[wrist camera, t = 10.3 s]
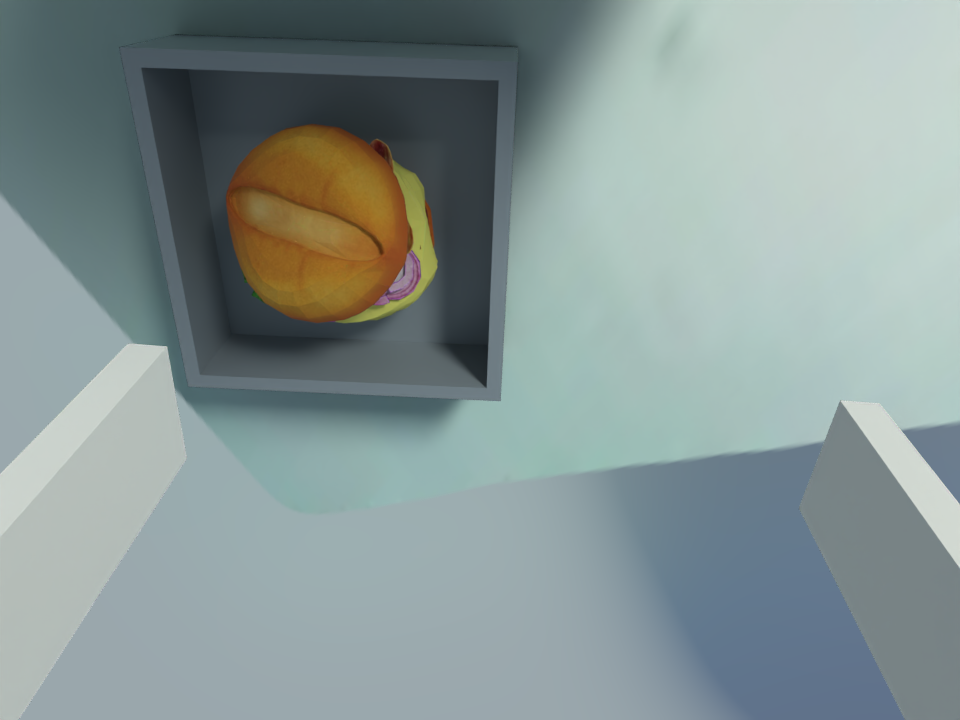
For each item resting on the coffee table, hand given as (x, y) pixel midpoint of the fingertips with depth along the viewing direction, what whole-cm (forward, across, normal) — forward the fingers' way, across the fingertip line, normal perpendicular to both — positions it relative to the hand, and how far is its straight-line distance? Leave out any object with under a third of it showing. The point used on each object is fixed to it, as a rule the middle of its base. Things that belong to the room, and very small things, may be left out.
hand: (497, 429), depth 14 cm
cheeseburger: (+27, -9, -5) cm, 29 cm away
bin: (+28, -8, -5) cm, 29 cm away
